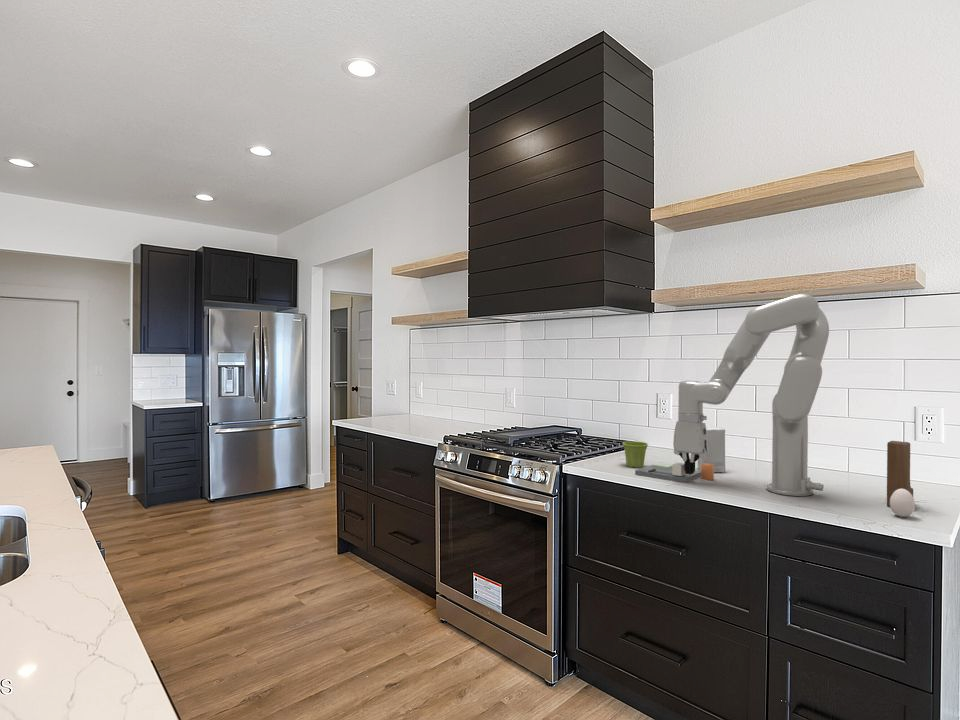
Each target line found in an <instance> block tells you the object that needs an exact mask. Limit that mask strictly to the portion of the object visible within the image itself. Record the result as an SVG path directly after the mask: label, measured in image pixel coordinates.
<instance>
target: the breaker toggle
mask: <svg viewBox="0 0 960 720" xmlns="http://www.w3.org/2000/svg"><path fill="white" fill-rule="evenodd" d="M671 464H672V475H677V476H683V475H685V470H684V462H683V463H682V462H675V463H671Z"/></svg>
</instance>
